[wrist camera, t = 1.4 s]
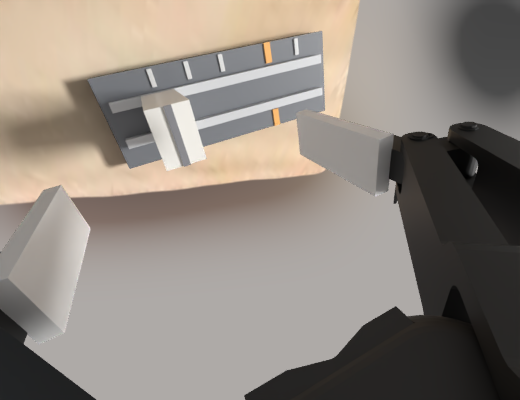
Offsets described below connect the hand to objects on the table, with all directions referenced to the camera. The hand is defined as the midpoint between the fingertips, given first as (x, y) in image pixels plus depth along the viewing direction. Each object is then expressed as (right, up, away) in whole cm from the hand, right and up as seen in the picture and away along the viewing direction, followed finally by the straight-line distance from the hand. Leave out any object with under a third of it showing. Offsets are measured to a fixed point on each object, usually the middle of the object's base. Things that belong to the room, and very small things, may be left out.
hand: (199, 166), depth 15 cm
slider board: (-1, +12, +20) cm, 23 cm away
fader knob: (-8, +8, +15) cm, 19 cm away
